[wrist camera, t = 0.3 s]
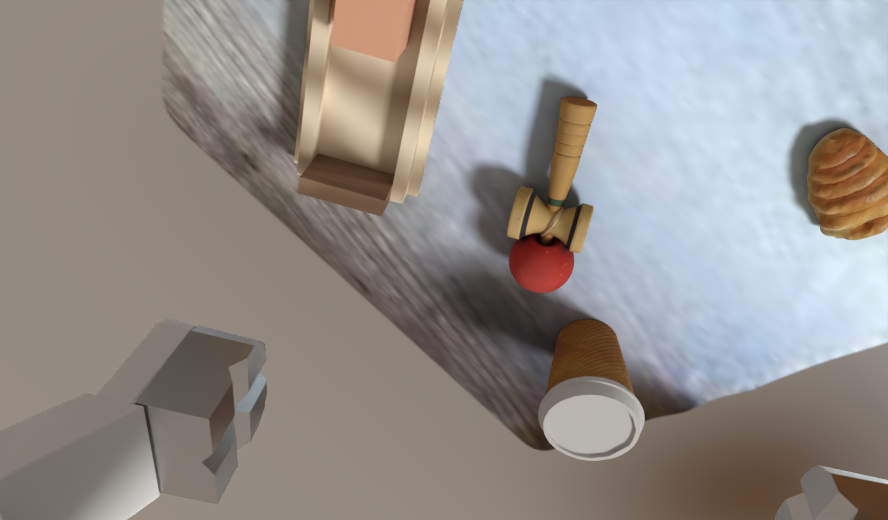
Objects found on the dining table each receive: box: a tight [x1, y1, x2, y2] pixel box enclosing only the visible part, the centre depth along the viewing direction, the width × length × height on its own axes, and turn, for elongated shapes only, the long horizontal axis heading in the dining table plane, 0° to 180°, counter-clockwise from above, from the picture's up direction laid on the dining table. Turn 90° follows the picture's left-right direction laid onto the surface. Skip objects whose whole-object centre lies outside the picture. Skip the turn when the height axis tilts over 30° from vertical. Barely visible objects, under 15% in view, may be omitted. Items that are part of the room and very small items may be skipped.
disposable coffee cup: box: [538, 319, 645, 461], centre depth 62 cm, size 10×10×12 cm
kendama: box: [507, 97, 597, 293], centre depth 56 cm, size 8×6×18 cm
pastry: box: [807, 128, 888, 240], centre depth 51 cm, size 9×7×4 cm
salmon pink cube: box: [330, 0, 417, 63], centre depth 48 cm, size 5×5×5 cm
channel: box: [294, 0, 463, 216], centre depth 52 cm, size 20×12×6 cm, turn 167°
